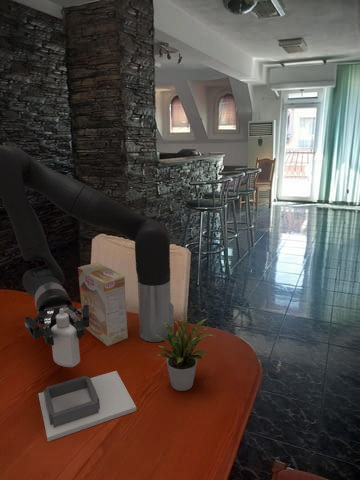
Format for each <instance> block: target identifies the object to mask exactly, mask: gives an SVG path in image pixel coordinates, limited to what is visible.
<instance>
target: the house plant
mask: <svg viewBox="0 0 360 480" xmlns="http://www.w3.org/2000/svg"><path fill="white" fill-rule="evenodd" d="M173 320H174V323H175V325H176V327H177V329H178V330H176V331H173V329H172V328H171V324H170V326H169V325H168V324H167V323H166V322H165V321H163V320H162V321H163V322H164V324H165V326H166V328H167V330H168V338H167V339H164V338H163V337H161V336H159V335H156V334H155V336H158V337H160V338H162V339H163V341H165V342H166V343H167V344H168V345H169V346H170V347H171V349H172V350H170V349H168V348H167V347H165V346H163V345H158V344H157V347H159V348H161V350H163V351H164V352H161V353H159V354H157V355H156V357H162V358H166V367H167V370H168V376H169V380H170V385H171V387H172V388H173V389H174V390H176V391H181V392H182V391H184V392H185V391H188V390H190V389H191V388H192V387H193V385H194V380H195V375H196V369H197V364H198V359H199V360H204V358H203V357H202V355H203V356H205V357H207V354H206V351H205V350H204V349H202V348H201V349H197V350H195V351H194V349H195V348H196V346H197V345H198V343H200V341H201V340H202V339H203V338H206V337H216V335H215V334H210V333H206V334H203V333H204V332H205V331H206V330H208V329H209V327H206V328H204V329H202V330H200V332H199V333H198V334H197V335H196V337H194V335H195V334H196V333H197V332H196V331H197V330H198V329H199V328H200V326H201V325H202V324H203V323H204V322H205V321H207V320H209V319H208V318H204V319H201V320H199V322H197V323H195V325H194V326H193V328H192V329H191V331H190V333H189V335H188V325H187V324H188V323H187V321H186V318H185V315H184V314H183V313H182V314H181V326H180V324H179V322H177V321H176V320H175V319H173ZM202 334H203V335H202ZM187 335H188V336H187ZM165 352H166V353H165Z"/></svg>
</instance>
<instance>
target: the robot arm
mask: <svg viewBox="0 0 360 480" xmlns="http://www.w3.org/2000/svg"><path fill="white" fill-rule="evenodd" d="M25 188H28V189H30V190H33V191H35V192H37V193H39V194H40V195H42V196H44V197H45V198H46V199H47V200H49V202H51V203H52V204H53V205H54V206H56V207H57V208H58V209H60V210H61V211H63V212H64V213H66V214H67V215H69V216H71V217H72V218H75V219H77V220H79V221H81V222H83V223H85V224H87V225H90V226H93V227H97V228H100V229H106V230H110V231H113V232H116V233H118V234H121V235H122V236H125V237H126V238H128V239H130V240H131V241H133V242H134V255H135V271H136V278H137V296H138V297H137V299H138V322H139V323H138V325H139V326H138V327H139V337H140V338H141V339H142V340H143V341H146V342H151V343H157V342H162V341H163V342H164V340H163V339H162V338H160V337H158V336H155V334H156V335H159V336H161V337H163V338H164V339H166V340H168V339H167V338H168V330H167V328H166V326H165V324H164V322H163V321H165V322H166V323H167V324H168V325H169V326H170V324H171V328H172V329H173V331H174V330H175V328H174V326H175V325H174V323H175V321H174V320H175V319H174V317H175V316H174V314H175V313H174V310H175V309H174V304H173V303H172V302H171V299H172V298H171V295H172V294H171V255H170V254H171V251H170V250H171V245H170V244H171V243H170V242H171V235H170V232H169V229H168V228H167V227H166V226H165V225H164V224H163V223H161V222H160V221H157V220H155V219H152V218H150V217H148V216H145V215H142V214H140V213H137V212H135V211H134V210H131V209H129V208H127V207H125V206H124V205H123V204H121V203H119V202H118V201H116V200H114V199H112V198H110V197H109V196H107V195H105V193H104V194H103V193H101V191H98V190H97V189H95V188H94V187H91V186H89V185H87V184H85V183H83V182H81V181H79V180H77V179H75V178H72V177H70V176H69V175H65V174H63V173H61V172H58V171H56V170H54V169H53V168H50V167H48V165H45V164H44V163H43V162H41V161H39V160H38V159H36V158H34V157H33V156H32V155H30V154H29V153H28V152H26V151H24V150H23V149H21V148H19V147H15V146H10V145H6V144H5V145H4V144H0V199H1V202H2V204H3V206H4V208H5V210H6V214H7V215H8V218H9V220H10V223H11V226H12V228H13V232H14V235H15V238H16V241H17V242H16V243H17V245H18V249H19V251H20V255H21V256H22V259H23V260H25V261H42V262H45V264H44V265H42V266H38V267H35V268H34V267H33V268H31V269H29V270H26V271H25V273H24V274H23V276H22V286H23V287H24V290H25V292H26V293H27V294H29V295H30V296H31V297H32V298H34V305H35V310H36V311H37V315H36V317H31V316H25V317H24V318H23V319H24V326H25V330H26V331H27V332H28V333H29V335H31V337H32V338H33V339H35V340H38V339H40V338H41V337H42V338H44V339H43V340H44V342H45V344H46V345H49V346H50V347H52V346H53V345H54V339H53V334H52V331H51V328H52V327H53V326H54V325H56V324H57V323H56V315H58V314H59V311H60V309H63V310H64V312H65V313H67V314H68V315H69V324H70V325H72V326H73V327H74V328H75V329H76V330H77V334H78V340H81V339H83V337H84V336H85V334H86V333H85V328H86V327H89V319H90V314H89V305H84V306H83V308H82V307H81V308H77V307H76V306H75V305H73V302H72V301H71V298H70V297H69V294H68V293H67V291H66V289H65V288H64V287H63V285H64V283H65V273H64V271H63V270H62V268H61V267H60V265H59V264H58V262H57V261H56V259H55V258H54V256H53V255H52V253H51V250H50V248H49V244H48V241H47V238H46V235H45V231H44V227H43V226H42V223H41V221H40V218H39V217H38V215H37V214H36V212H35V210H34V208H33V206H32V205H31V203H30V200H29V197H28V194H27V192H26V189H25ZM79 315H80V316H79ZM173 319H174V320H173ZM162 320H163V321H162ZM40 325H41V326H40ZM84 327H85V328H84ZM174 332H175V331H174Z"/></svg>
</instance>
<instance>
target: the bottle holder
mask: <svg viewBox="0 0 360 480" xmlns="http://www.w3.org/2000/svg"><path fill="white" fill-rule="evenodd" d="M38 399H39V404H40V411H41V414H42V419H43V424H44V430H45V434H46V440H47V442H51V441H54V440H56V439H60V438H62V437H66V436H69V435H71V434H74V433H78V432H79V431H83V430H85V429H88V428H91V427H94V426H98V425H100V424H102V423H105V422H108V421H111V420H114V419H117V418H119V417H123V416H125V415H129V414H131V413H134V412H136V411H137V406H136V404H135V402H134V400H133V398H132V397H131V395H130V393H129V392H128V390H127V388H126V386H125V384H124V382H123V381H122V379H121V376H120V375H119V373H118V371H117V370H115V371H111V372H107V373H103V374H99V375H96V376H93V377H88V375H83V376H80V377H76V378H74V379H73V378H72V379H69V380H66V381H63V382H58V383H55V384H52V385H49V386H45V389H44V390H43V392H38Z"/></svg>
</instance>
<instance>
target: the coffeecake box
mask: <svg viewBox="0 0 360 480" xmlns="http://www.w3.org/2000/svg"><path fill="white" fill-rule="evenodd" d="M77 272H78V283H79V294H80V303H81V304H80V305H81V306H80V307H81V308H83V306H84V305H89V314H90V319H89V327H86V328H85V327H84V330H87V331H88V332H89V333H91V334H92V335H93V336H94V338H97V339H98V340H99V341H100V342H102V343H103V344H104V345H106V346H107V347H110V346H112V345H114V344H116V343H119V342H121V341H124V340H126V339H128V338H129V337H128V321H127V319H128V318H127V317H128V316H127V301H126V299H127V298H126V281H125V279H126V278H125V275H123V274H121V273H120V272H117V271H116V270H114V269H112V268H109V267H108V266H105V265H104V264H103V263H101V262H96V263H95V262H94V263H91V264H85V265H81V266H78V267H77Z"/></svg>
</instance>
